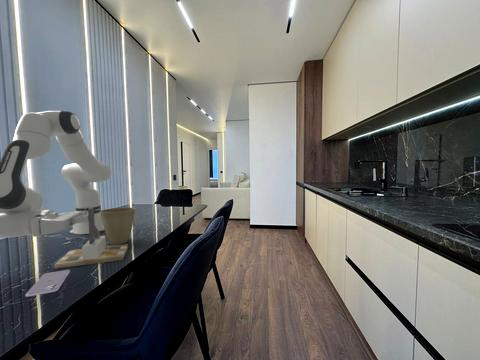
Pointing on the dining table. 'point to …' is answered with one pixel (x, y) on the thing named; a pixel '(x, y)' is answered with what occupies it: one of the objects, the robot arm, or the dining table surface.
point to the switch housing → (94, 248)
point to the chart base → (77, 259)
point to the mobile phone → (48, 283)
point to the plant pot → (118, 224)
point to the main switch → (91, 225)
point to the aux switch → (96, 233)
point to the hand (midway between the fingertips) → (89, 218)
